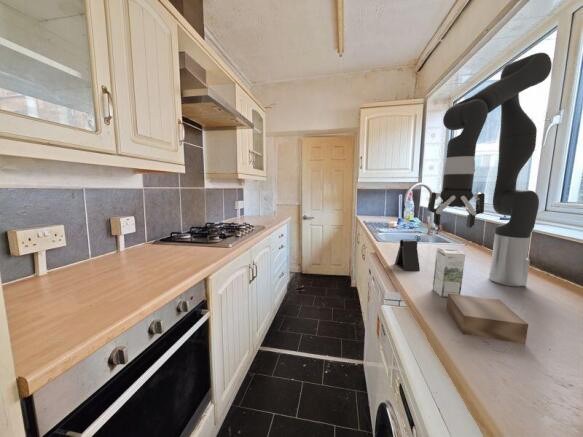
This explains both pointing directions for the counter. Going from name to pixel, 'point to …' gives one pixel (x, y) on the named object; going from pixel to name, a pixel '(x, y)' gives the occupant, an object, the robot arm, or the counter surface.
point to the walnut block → (486, 318)
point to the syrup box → (448, 272)
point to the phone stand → (408, 256)
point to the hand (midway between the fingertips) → (452, 226)
